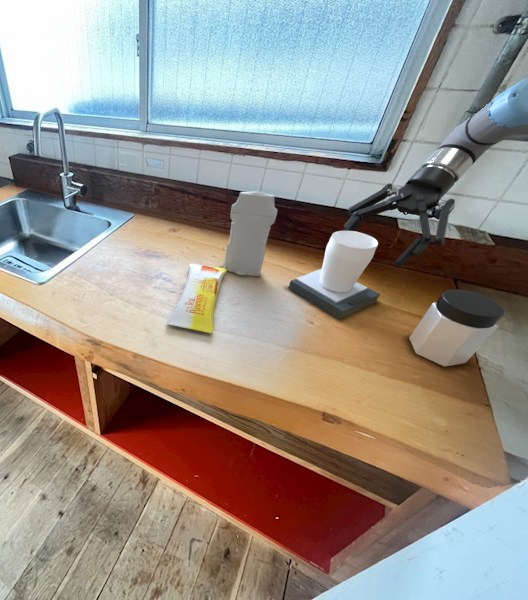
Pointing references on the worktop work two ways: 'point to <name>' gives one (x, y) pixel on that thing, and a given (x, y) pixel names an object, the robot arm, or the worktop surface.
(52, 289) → the worktop surface
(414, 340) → the jar
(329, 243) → the cup
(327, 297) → the scale
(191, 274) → the food package
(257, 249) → the tall pale column
